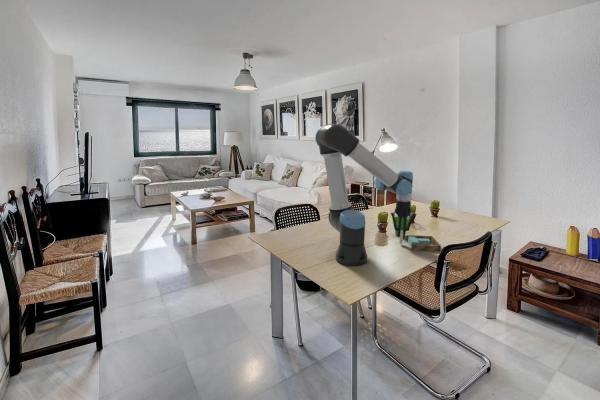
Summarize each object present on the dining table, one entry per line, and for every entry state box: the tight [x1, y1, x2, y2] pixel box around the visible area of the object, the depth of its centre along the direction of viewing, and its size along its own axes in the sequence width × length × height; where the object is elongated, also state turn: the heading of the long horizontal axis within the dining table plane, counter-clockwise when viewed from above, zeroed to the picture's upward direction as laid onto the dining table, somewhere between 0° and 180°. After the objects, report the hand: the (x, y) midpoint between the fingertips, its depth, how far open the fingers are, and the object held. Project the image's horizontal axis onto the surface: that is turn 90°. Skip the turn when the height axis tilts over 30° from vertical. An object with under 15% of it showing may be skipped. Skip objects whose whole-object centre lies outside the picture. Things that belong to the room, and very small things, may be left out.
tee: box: [407, 235, 431, 248], centre depth 176 cm, size 10×10×4 cm
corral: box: [405, 234, 442, 253], centre depth 176 cm, size 14×16×3 cm
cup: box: [394, 215, 410, 238], centre depth 191 cm, size 9×9×11 cm
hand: (400, 242), depth 177 cm, fingers closed
